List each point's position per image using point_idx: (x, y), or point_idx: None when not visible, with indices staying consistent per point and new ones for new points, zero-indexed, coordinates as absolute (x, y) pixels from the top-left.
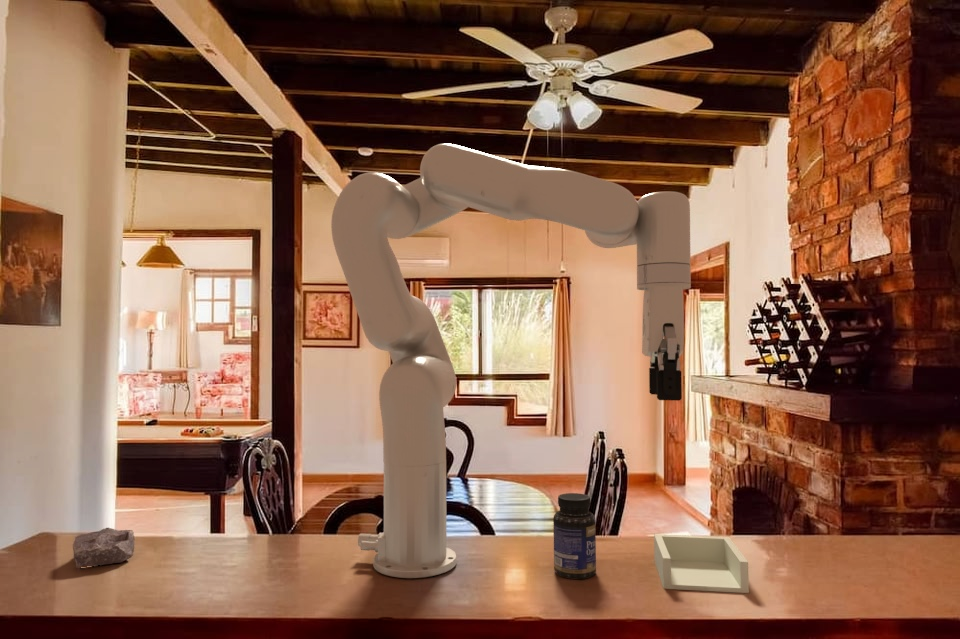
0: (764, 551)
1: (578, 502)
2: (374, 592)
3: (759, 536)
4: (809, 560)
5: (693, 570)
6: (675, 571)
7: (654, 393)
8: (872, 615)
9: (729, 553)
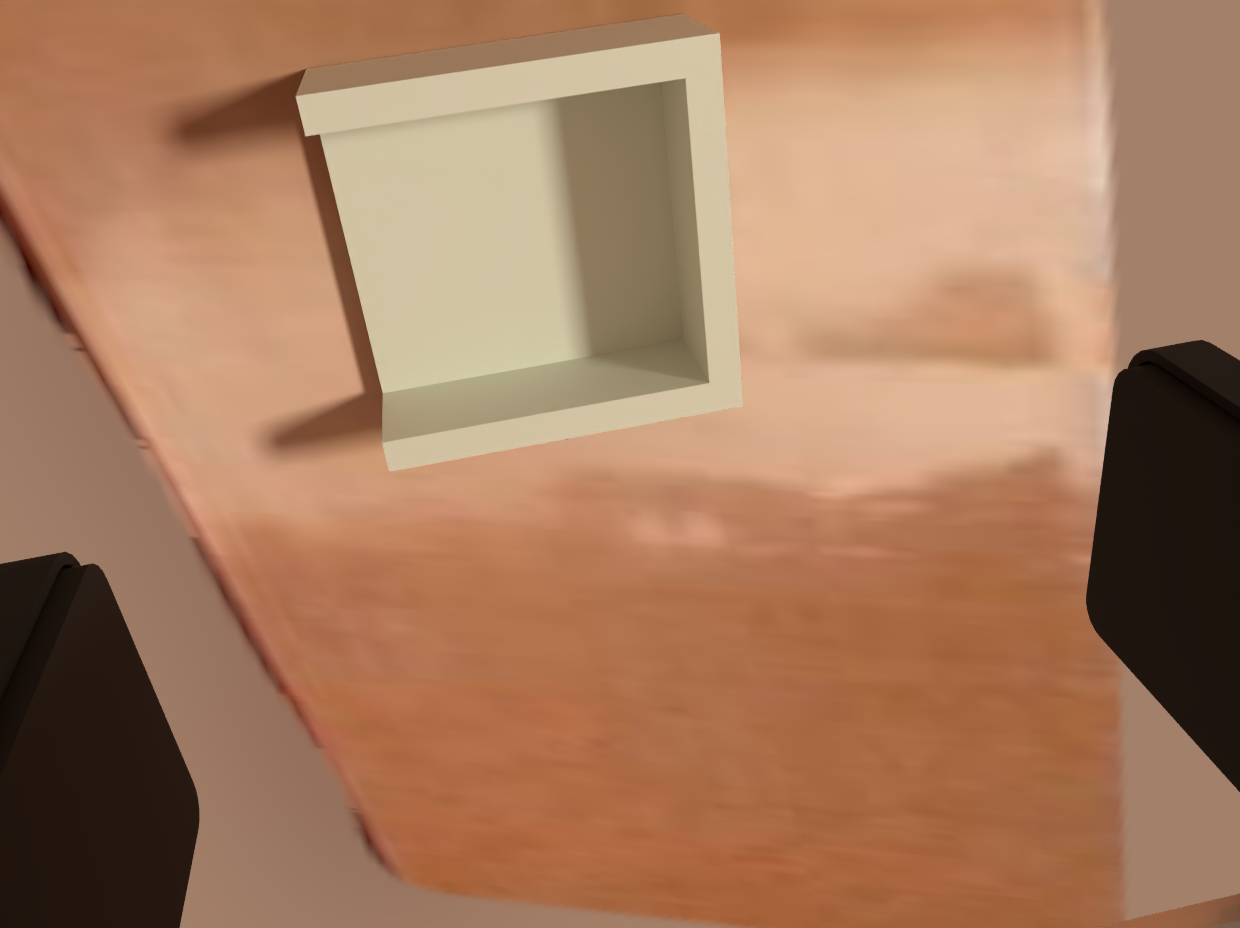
0: (907, 485)
1: None
2: None
3: None
4: (823, 619)
5: (543, 209)
6: (502, 127)
7: (1116, 413)
8: (332, 734)
9: (589, 390)
